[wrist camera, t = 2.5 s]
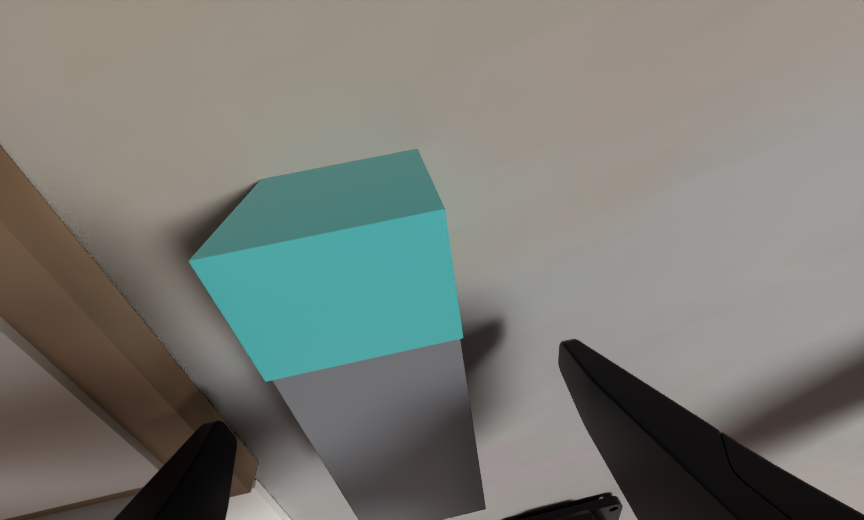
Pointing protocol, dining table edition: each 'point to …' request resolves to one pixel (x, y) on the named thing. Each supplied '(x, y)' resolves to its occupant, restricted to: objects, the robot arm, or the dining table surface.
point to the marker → (357, 328)
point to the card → (255, 506)
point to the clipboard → (80, 377)
